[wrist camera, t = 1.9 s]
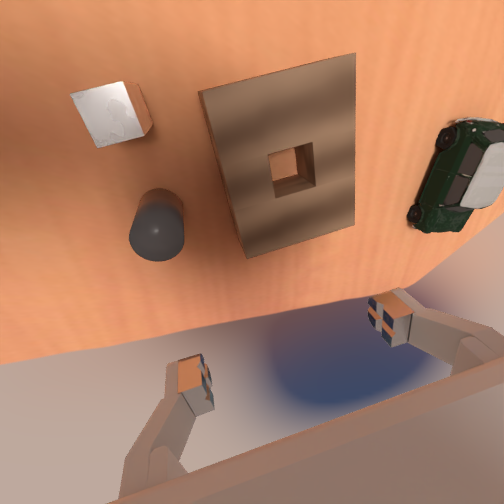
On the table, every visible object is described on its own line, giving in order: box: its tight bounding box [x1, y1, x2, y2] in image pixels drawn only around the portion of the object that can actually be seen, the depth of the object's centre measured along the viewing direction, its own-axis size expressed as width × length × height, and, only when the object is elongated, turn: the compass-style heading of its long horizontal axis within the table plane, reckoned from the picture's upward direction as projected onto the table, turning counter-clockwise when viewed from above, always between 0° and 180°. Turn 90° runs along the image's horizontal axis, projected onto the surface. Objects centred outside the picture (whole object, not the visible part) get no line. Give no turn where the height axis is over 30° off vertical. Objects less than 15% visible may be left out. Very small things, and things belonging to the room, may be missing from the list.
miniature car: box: [407, 117, 504, 233], centre depth 41 cm, size 9×18×8 cm, turn 176°
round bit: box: [129, 189, 184, 261], centre depth 32 cm, size 6×6×9 cm
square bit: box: [70, 81, 153, 148], centre depth 25 cm, size 4×4×10 cm
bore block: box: [198, 53, 356, 259], centre depth 34 cm, size 20×16×6 cm
